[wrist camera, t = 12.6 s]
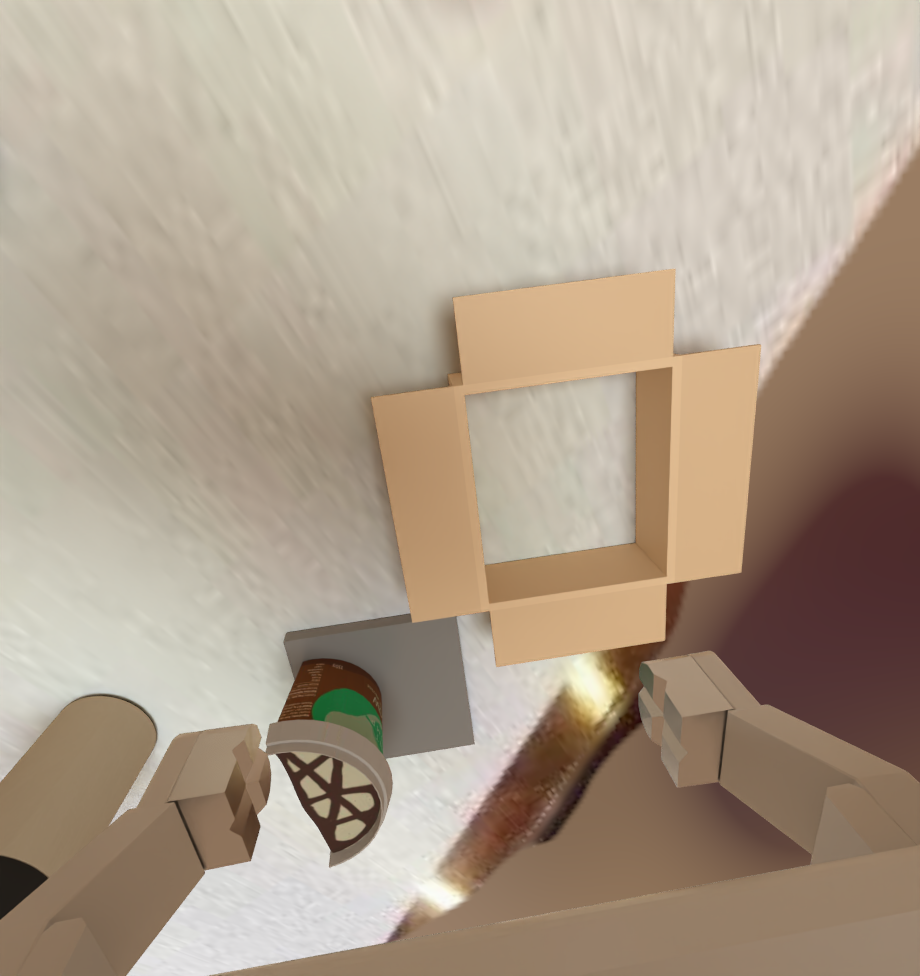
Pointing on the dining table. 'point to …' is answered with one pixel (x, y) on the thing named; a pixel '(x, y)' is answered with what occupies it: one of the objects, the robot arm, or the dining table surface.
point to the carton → (659, 467)
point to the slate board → (401, 676)
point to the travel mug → (67, 790)
